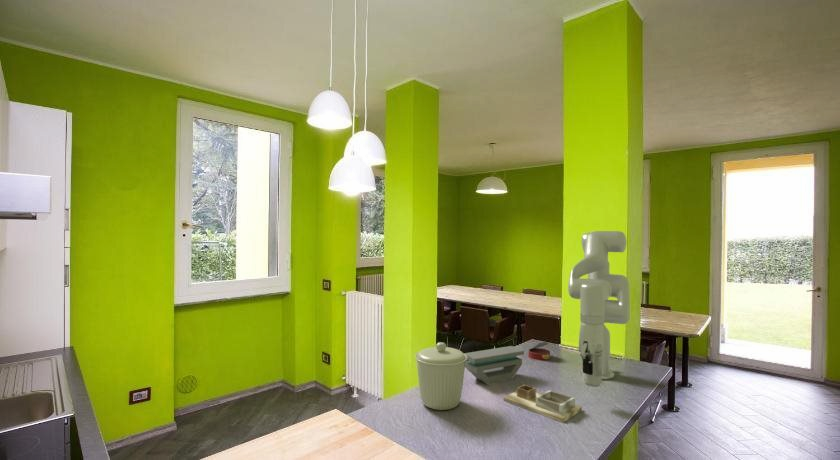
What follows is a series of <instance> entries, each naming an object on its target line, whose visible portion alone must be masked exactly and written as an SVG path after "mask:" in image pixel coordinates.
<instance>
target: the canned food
mask: <svg viewBox="0 0 840 460" xmlns="http://www.w3.org/2000/svg"><path fill="white" fill-rule="evenodd" d="M548 344H549V342H547V341H542V342H540V343H538V344H536V345H535V346H533V347H531V348H529V349H528V358H530V359H531V360H532V359H533V360H536V361H548V360H550V358H551V351H550V350H548V349H545V348H541V347H545V346H547V345H548Z"/></svg>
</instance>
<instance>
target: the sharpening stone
mask: <svg viewBox="0 0 840 460" xmlns="http://www.w3.org/2000/svg"><path fill="white" fill-rule="evenodd" d="M463 353H464V352H463ZM464 354H466V355H467V360H466V361H465V368H466V370H467V371H468V372H470V373H471V375H473V376H474V377H475V378H476V379H477V380H479V381H481V382H482V383H485V384H487V385H488V386H490V385H494V384H498V383H503V382H508V381H512V380H513V378H514V377H515V375H516V374H517V373H518V371H519V369H520V368H521V366H522V365H523V359H522V358H520V357H518V356H522V355H523V356H524V355H525V350H523V349H520V348H518V347H515V346H514V345H508V346H502V347H497V348H496V347H495V348H491V349H490V348H489V349H484V350H477V351H472V352H471V351H470V352H465V353H464Z"/></svg>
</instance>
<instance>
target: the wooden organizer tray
mask: <svg viewBox="0 0 840 460" xmlns="http://www.w3.org/2000/svg"><path fill="white" fill-rule="evenodd" d="M503 401H504V402H506V403H509V404H512V405H514V406H517V407H519V406H520V408H522V409H525V410H527V411H530V412H533V413H536V414H539V415H541V416H544V417H547V418H549V419H552V420H554V421H557V422H560V423H562V424H563V423H564V422H566V421H568V420H569V419H571V418H572V417H574V416H575V415H577V414H578V413H580V412H581V411H582V410H583V409H582V406H581V405H577V404H575V403H576V398H575V397H572V396H570V395H567V394H563V393H560V392H557V391H554V390H551V389H549V390H546V391H545V392H543V393H541V392H539V391H537V388H536V387H533V386H530V385H527V384H522V385H519V386H518V387H516V391H514V392H512V393H510V394H507V395H506V396H503Z"/></svg>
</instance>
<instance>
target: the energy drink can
mask: <svg viewBox="0 0 840 460" xmlns="http://www.w3.org/2000/svg"><path fill="white" fill-rule="evenodd" d="M587 353H590V351H587ZM586 356H588V358H589V356H590V355H587V354H586ZM592 363H593V374H592V375H589V374H586V373H583V374H582V382H584V384H585V385H586V386H587V387H593V388H597V387H600V385H601V384H602V382H603V379H602V346H601V344H598V346H597V348H596V352H595V354H593V357H592Z"/></svg>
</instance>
